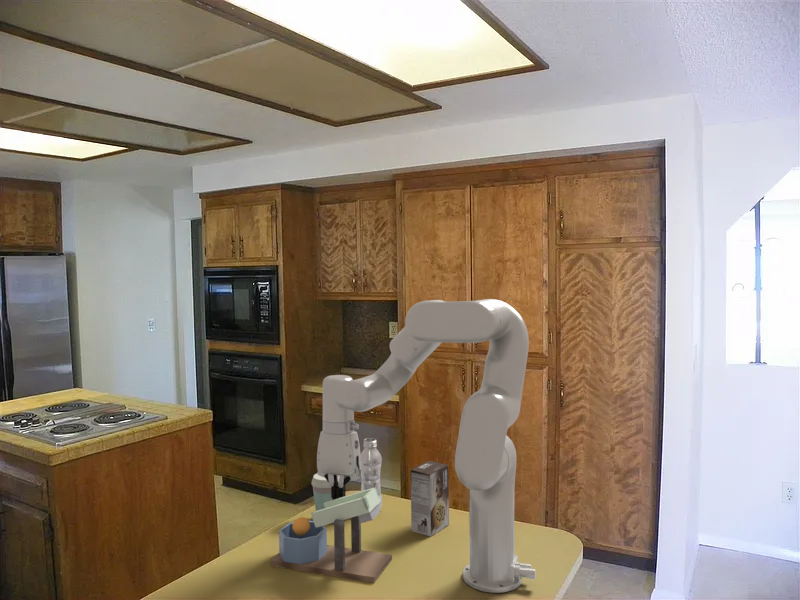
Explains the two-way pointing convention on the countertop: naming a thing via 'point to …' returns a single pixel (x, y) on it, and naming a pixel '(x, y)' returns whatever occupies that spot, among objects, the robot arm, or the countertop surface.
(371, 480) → the plastic bottle
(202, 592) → the countertop surface
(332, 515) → the tipping tray
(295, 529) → the orange ball
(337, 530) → the stand
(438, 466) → the coffee box
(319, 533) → the blue cup
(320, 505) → the coffee cup
